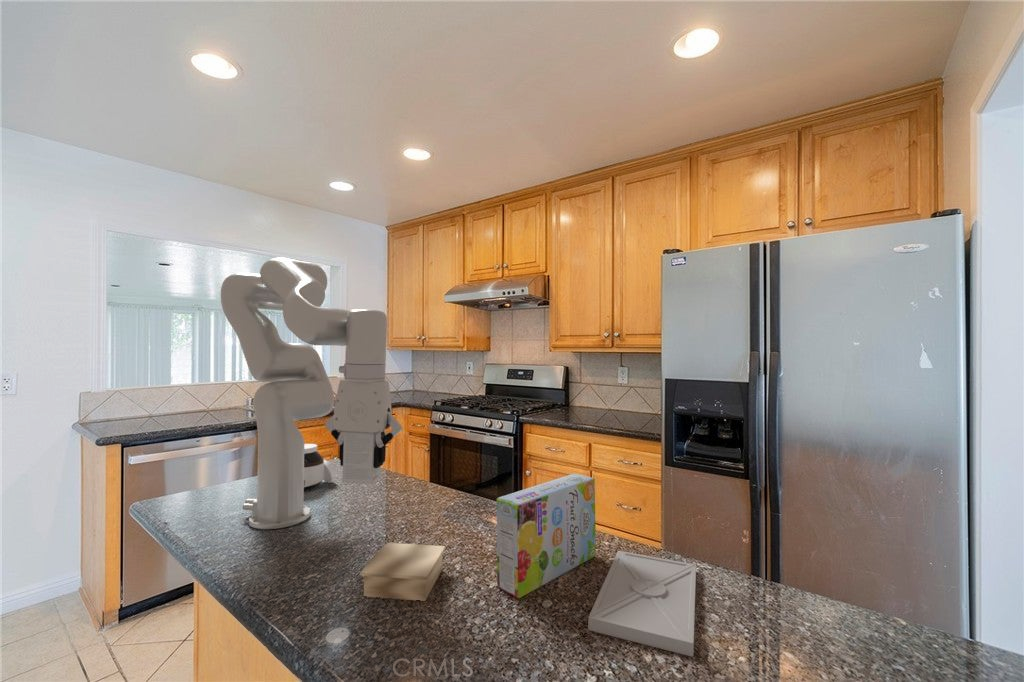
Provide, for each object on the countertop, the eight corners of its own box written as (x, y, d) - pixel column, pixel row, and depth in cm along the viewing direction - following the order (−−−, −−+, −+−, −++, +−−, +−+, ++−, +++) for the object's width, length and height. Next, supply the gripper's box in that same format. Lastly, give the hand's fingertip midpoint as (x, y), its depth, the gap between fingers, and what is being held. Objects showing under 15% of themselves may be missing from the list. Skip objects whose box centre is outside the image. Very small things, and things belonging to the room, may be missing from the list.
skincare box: (380, 478, 89) (382, 418, 89) (371, 484, 85) (373, 421, 85) (351, 476, 90) (353, 416, 90) (341, 482, 85) (343, 420, 85)
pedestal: (360, 597, 70) (360, 572, 70) (387, 564, 81) (387, 542, 81) (426, 602, 69) (426, 576, 69) (445, 568, 80) (445, 546, 80)
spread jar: (278, 491, 122) (278, 448, 123) (303, 479, 134) (304, 440, 134) (318, 493, 120) (318, 450, 121) (340, 481, 132) (341, 441, 132)
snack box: (573, 547, 89) (573, 471, 89) (597, 557, 85) (597, 477, 85) (494, 587, 74) (495, 495, 74) (518, 601, 70) (519, 504, 70)
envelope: (695, 575, 79) (617, 560, 85) (695, 563, 79) (618, 549, 85) (693, 658, 57) (588, 631, 63) (693, 641, 57) (588, 615, 63)
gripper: (313, 372, 84) (309, 467, 84) (400, 376, 82) (397, 473, 82) (333, 369, 92) (330, 457, 92) (414, 373, 90) (411, 462, 90)
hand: (362, 464), depth 87 cm, fingers closed on skincare box, 6 cm apart
